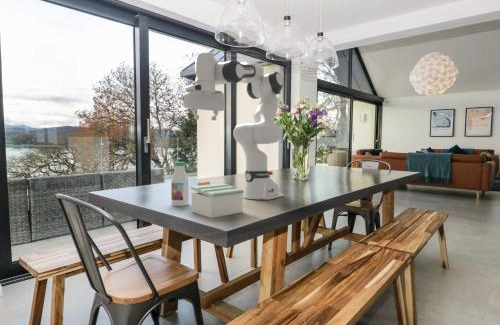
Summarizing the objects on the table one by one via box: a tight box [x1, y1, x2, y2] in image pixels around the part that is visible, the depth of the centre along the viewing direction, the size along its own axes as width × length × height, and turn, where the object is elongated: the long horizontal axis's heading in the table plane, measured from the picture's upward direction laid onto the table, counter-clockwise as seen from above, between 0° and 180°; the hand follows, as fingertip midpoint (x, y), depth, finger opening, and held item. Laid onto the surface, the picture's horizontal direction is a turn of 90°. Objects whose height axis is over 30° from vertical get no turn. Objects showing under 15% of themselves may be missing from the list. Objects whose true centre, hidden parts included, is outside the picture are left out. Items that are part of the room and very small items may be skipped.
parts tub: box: [191, 191, 244, 219], centre depth 136 cm, size 16×14×8 cm
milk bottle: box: [170, 161, 190, 207], centre depth 151 cm, size 8×8×20 cm
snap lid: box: [190, 181, 245, 197], centre depth 137 cm, size 16×19×2 cm
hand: (205, 119), depth 148 cm, fingers open, 8 cm apart
